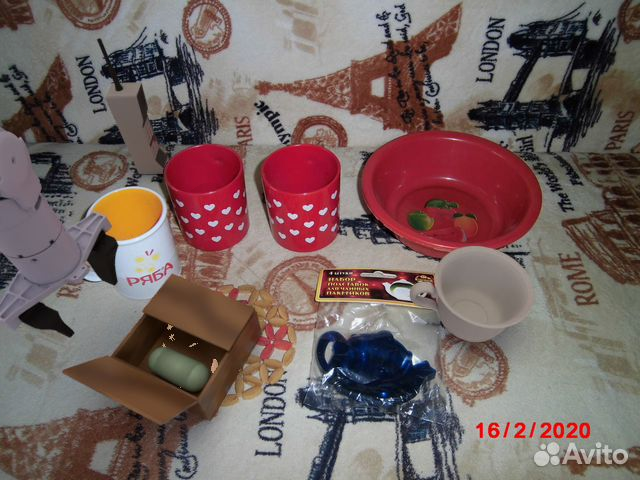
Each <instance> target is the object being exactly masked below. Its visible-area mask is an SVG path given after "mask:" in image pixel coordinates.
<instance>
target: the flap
mask: <svg viewBox="0 0 640 480" xmlns="http://www.w3.org/2000/svg"><path fill="white" fill-rule="evenodd" d="M110 356H111V355H110ZM110 356H109V355H108V354H106V355H103V356H100V357H97V358H94V359H91V360H88V361H85V362H81V363H78V364H76V365H73V366H70V367H67V368H64V369H62V371H61V373H62V374H63V375H64V376H67V377H69V378H71V379H73V380H74V381H76V382H78V383H80V384H82V385H83V386H86V387H88V388H89V389H91V390H93V391H95V392H98V393H99V394H101V395H103V396H104V397H106V398H108V399H110V400H112V401H114V402H116V403H118V404H120V405H122V406H123V407H125V408H127V409H129V410H130V411H132V412H134V413H136V414H138V415H140V416H141V417H143V418H146V419H148V420H150V421H152V422H153V423H155V424H157V425H159V426H163V425H165V424H166V423H168V422H169V421H170V420H172V419H174V418H176V417H177V416H179V415H180V414H182V413H184V412H185V411H186V410H187V411H188V408H190V407H191V406H193V405H194V404H196V403H197V400H196V399H194V398H192V397H190V396H188V395H186V394H184V393H182V392H180V391H178V390H176V389H174V388H172V387H170V386H168V385H166V384H164V383H162V382H160V381H158V380H156V379H154V378H152V377H150V376H148V375H146V374H144V373H142V372H140V371H138V370H136V369H134V368H132V367H130V366H128V365H126V364H124V363H122V362H120V361H118V360H116V359H114V358H112V357H110Z"/></svg>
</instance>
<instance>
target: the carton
mask: <svg viewBox="0 0 640 480" xmlns="http://www.w3.org/2000/svg"><path fill="white" fill-rule="evenodd" d="M141 312H142V313H143V314H142V316H141V317H140V318H139V319H138V321H137V322H136V323H135V324H134V325H133V326H132V328H131V329H130V330H129V332H128V333H127V334H126V336H125V337H124V338H123V340H122V341H121V342H120V343H119V345H118V346H117V347H116V348H115V350H114V351H113V352H112V353H111V355H110V357H112V358H114V359H116V360H118V361H120V362H122V363H124V364H126V365H128V366H130V367H132V368H134V369H136V370H138V371H140V372H142V373H144V374H146V375H148V376H150V377H152V378H154V379H156V380H158V381H160V382H162V383H164V384H166V385H168V386H170V387H172V388H174V389H176V390H178V391H180V392H182V393H184V394H186V395H188V396H190V397H192V398H194V399H196V400H197V403H196V404H194V405H193V406H191V407H190V408H188V409H187V411H190V412H192V413H193V414H195V415H198V416H200V417H201V418H204V419H205V420H207V421H209V422H212V420H213V418H214V416H215V415H216V413H217V411H218V410H219V408H220V406H221V405H222V403H223V401H224V399H225V398H226V396H227V394H228V393H229V392H230V389H231V388H232V386H233V384H234V383H235V381H236V379H237V378H238V376H239V374H240V372H241V371H242V369H243V368H244V366H245V364H246V362H247V361H248V359H249V358H250V356H251V354H252V353H253V351H254V349H255V347H256V345H257V344H258V342H259V341H260V339H261V337H262V335H263V332H262V331H263V330H262V328H261V323H260V319H259V315H258V312H257V310H256V307H254V306H252V305H249V304H247V303H244V302H242V301H239V300H238V299H235V298H232V297H230V296H227V295H225V294H222V293H220V292H218V291H215V290H213V289H211V288H208V287H205V286H203V285H201V284H198V283H196V282H194V281H191V280H189V279H186V278H184V277H182V276H179V275H178V274H174V273H171V274H170V275H169V276H168V277H167V279H166V280H165V281H164V282H163V284H162V285H161V286H160V288H159V289H158V290H157V291H156V293H155V294H153V296H152V298H151V299H150V300H149V301H148V303H147V304H146V305H145V307H144V308H143V309H142V310H141ZM168 324H169V325H171V326H173V327H172V328H171V330H170V329H169V330H168V329H167V327H168ZM171 334H172V335H173V334H174V336H173V338H174V339H175V340H174V339H173V338H172V340H173V341H172V340H171V339H169V338H170V337H169V336H171ZM163 343H164V344H165V346H166V347H168V348H171V349H173V350H175V351H177V352H179V353H181V354H183V355H186V356H188V357H190V358H192V359H194V360H196V361H198V362H200V363H202V364H204V365H205V366H206V367H207V368H208V370H209V372H210V379H209V381H208V383H207V384H206V386H205V387H204V389H202V390H200V391H197V392H191V391H188V390H186V389H184V388H182V387H181V388H180V386H178V385H176V384H174V383H172V382H170V381H168V380H166V379H164V378H162V377H160V376H158V375H156V374H154V373H153V372H152V371H151V370H150V368H149V366H148V359H149V356H150V355H151V353H152V352H153V351H154V350H156V349H157V348H160V347H163V346H162V345H163ZM193 343H196V345H194V346H192V347H189V346H190V345H192V344H193ZM197 343H198V344H197ZM213 359H216V360H217V362H218V367H217V368H216V370H215V371H214V373H212V371H211V366H212V363H213ZM240 369H241V370H240ZM239 370H240V371H239Z"/></svg>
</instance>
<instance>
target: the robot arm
mask: <svg viewBox="0 0 640 480" xmlns="http://www.w3.org/2000/svg"><path fill="white" fill-rule="evenodd" d="M27 147H28V146H27V145H26V143H25V141H24V139H23V138H22V136H19V137H17V135H15V134H14V133H12V132H10V131H7V130H6V129H4V128H2V127H1V126H0V252H1V254H3V256H4V257H6V259H7V260H8V261H9V262H10V263H12V265H13V266H14V267H15V269H17V272H16V274H15V275H14V277H13V279H12V281H11V283H10V285H9V286H8V288H7V290H6V292H5V293H4V295H3V297H2V299H1V300H0V325H2V326H4V327H6V328H8V329H10V330H12V331H17V330H18V328H19V327H20V326H21V325H22V324H25V325H27V326H29V327H31V328H33V329H35V330H40V331H54V332H57V333H58V334H60V335H63V336H65V337H67V338H69V339H70V338H72V337H73V336H74V335H75V331H74V329H72V328H71V327H70V326H69V325H68V324H67V323H66V322H64V320H63V319H62V317H61V316H60V312H59V310H56V309H54V308H51V307H50V306H48V305H46V304H45V303H44V302H41V301H42V300H45V299H46V298H47V297H49V296H50V295H52V294H53V293H55V292H57V291H58V290H60V289H61V288H62V287H64V286H65V285H67V284H69V283H72V284H75V285H76V284H80V283H81V282H82V281H83V280H84V279H85V278H86V277H87V275H89V273H90V271H91V269H92V270H93V272H94V273H95V274H96V276H97V277H98V278H99V279H100V280H101V281H102V282H105V283H107V284H109V285H112V286H117V284H118V282H119V280H118V275H117V269H116V258H117V252H118V249H119V243H118V240H117V239H116V238H115V237H114V236H111V235H109V234H107V233H108V232H109V231H110V230H111V229H112V228H113V225H112V224H111V222H110V220H109V218H108V217H107V216H106V215H105V214H102V213H100V212H96V211H94V210H93V211H91V212H90V213H89V214H87V216H85V217H84V218H83V219H81V220H79V221H78V222H76V223H74V224H72V226H69V227H68V228H67V227H66V226H65V225H64V223H63V222H62V221H61V219H60V218H59V216H58V215H57V213H56V212H55V211H54V209H53V208H52V207H51V205H50V204H49V202H48V201H47V199H46V198H45V197H44V195H43V194H42V192H41V190H42V185H41V180H40V178H39V177H38V175H37V173H36V172H35V171H34V168H33V165H32V160H31V156H30V152H29V150H28V148H27ZM86 262H87V263H88V264H89V266H90V267H91V269H90V268H89V267H88V265H87V264H86Z"/></svg>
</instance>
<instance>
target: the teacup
mask: <svg viewBox="0 0 640 480" xmlns="http://www.w3.org/2000/svg"><path fill="white" fill-rule="evenodd" d="M434 285H435V286H434ZM422 294H430V297H431V298H432V299H431V298H428V297H425V296H420V295H422ZM535 296H536V292H535V287H534V284H533V281H532V279H531V277H530V275H529V274H528V272H527V271H526V269H525V268H524V267H523V266H522V265H521V264H520V263H519V261H517V260H515V258H512V257H511V255H508V254H506V253H504V252H502V251H500V250H498V249H494V248H492V247H487V246H482V245H468V246H467V245H466V246H462V247H459V248H456V249H454V250H451V251H450V252H448V253H447V254H446V255H444V256H443V257H442V258H441V260H440V261H439V262H438V264H437V266H436V269H435V273H434V284H433V283H432V282H430V281H419V282H417V283H415V284H413V285H412V286H411V288H410V290H409V299H410V301H411V302H412V304H414V305H415V306H417V307H420V308H423V309H429V310H432V311H434V312H436V313H437V314H438V317H439V320H440V322H441V324H442V325H443V327H444V328H445V330H447V331H448V332H449V333H450V334H452V335H453V336H454V337H457V338H458V339H460V340H463V341H466V342H471V343H482V342H487V341H489V340H493V338H496V337H497V336H499V335H500V334H502V332H504V331H505V330H506V329H507V328H509V327H511V326H514V325H517V324H518V323H521V322H522V321H523V320H525V318H527V316H528V315H530V313H531V311H532V310H533V308H534V304H535ZM433 299H436V301H435V300H433Z"/></svg>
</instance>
